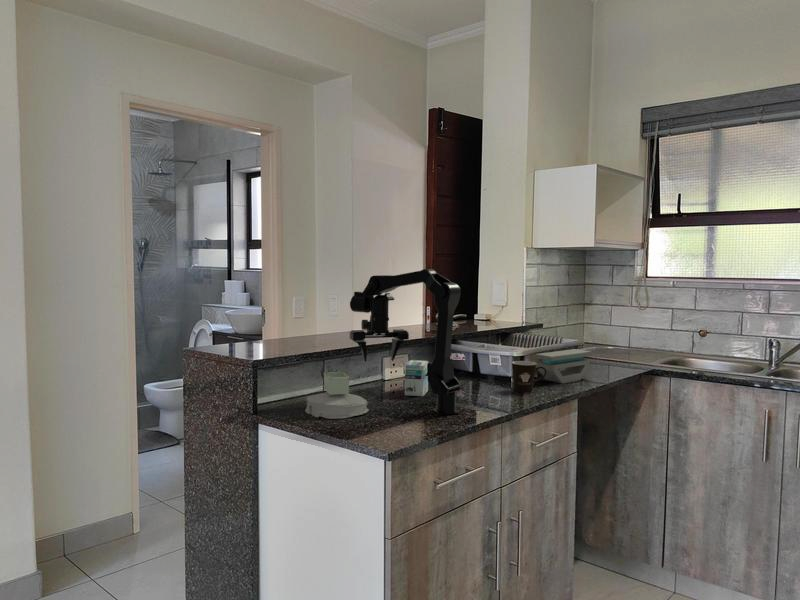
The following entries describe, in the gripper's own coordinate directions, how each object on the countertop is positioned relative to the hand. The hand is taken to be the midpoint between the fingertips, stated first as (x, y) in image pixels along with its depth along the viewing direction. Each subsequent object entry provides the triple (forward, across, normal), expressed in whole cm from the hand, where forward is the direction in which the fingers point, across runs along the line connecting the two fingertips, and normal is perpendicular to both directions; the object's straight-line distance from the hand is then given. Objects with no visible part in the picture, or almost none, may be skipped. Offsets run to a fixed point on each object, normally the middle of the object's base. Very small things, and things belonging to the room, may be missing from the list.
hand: (378, 361), depth 205 cm
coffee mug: (+13, -56, -2) cm, 58 cm away
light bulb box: (+13, -16, -8) cm, 22 cm away
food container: (+14, +16, +10) cm, 23 cm away
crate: (+7, +16, +10) cm, 20 cm away
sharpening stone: (+13, -80, -17) cm, 83 cm away
